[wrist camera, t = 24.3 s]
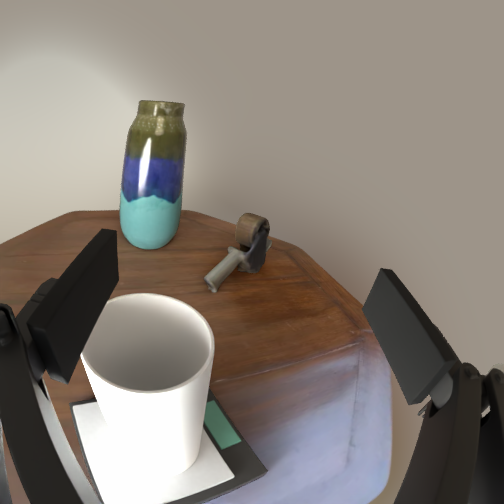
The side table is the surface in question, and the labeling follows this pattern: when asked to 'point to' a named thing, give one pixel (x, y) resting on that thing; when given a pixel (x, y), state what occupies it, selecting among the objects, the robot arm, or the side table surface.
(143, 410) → the cup
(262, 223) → the grey two-tone handled device
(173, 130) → the vase
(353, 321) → the side table surface
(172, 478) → the scale
